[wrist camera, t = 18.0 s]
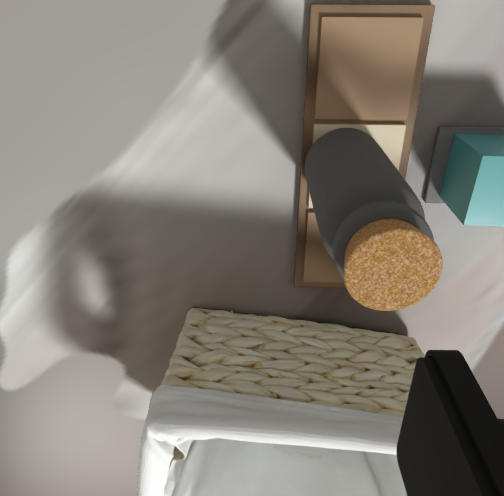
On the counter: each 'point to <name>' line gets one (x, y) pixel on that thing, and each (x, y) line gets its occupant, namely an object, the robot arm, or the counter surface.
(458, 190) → the cube
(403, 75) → the board
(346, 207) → the bottle
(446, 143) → the mat
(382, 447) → the storage basket
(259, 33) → the counter surface
